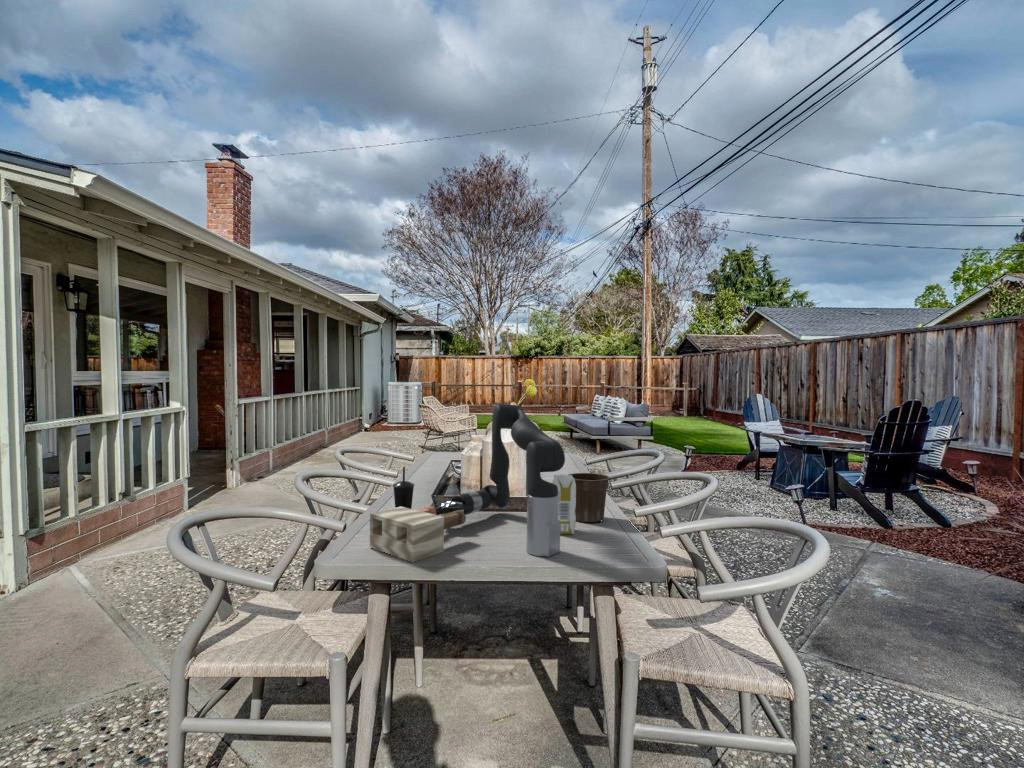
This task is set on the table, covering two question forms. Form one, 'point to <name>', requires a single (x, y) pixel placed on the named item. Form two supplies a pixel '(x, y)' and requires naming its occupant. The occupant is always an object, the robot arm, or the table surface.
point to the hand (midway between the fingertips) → (431, 512)
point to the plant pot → (590, 496)
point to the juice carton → (566, 503)
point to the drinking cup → (403, 493)
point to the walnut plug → (454, 519)
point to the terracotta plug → (428, 510)
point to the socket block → (407, 533)
